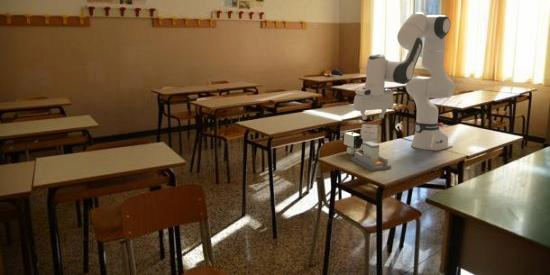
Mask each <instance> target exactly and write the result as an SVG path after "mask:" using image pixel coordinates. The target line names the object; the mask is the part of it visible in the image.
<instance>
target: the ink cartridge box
mask: <svg viewBox="0 0 550 275" xmlns="http://www.w3.org/2000/svg"><path fill="white" fill-rule="evenodd" d="M360 135H362V136H361V137H362V139H363V143H362V145H361V147H360V151H363V150H364V142H370V141H371V142H374V143H376V144H378V126H377V124H365V123H364V124H361V130H360Z"/></svg>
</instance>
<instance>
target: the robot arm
mask: <svg viewBox="0 0 550 275" xmlns="http://www.w3.org/2000/svg"><path fill="white" fill-rule="evenodd" d="M450 20H451V19H450V18H449V16H446V15H445V14H444V15H443V14H439V15H437V14H427V15H426V14H424V13H423V12H420V11H418V12H414V13H412V14H411V15H410V16H409V17H408V18H407V19H406V20H405V21H404V23H403V24H402V26H401V27H400V29H399V30H398V32H397V35H396V37H397V42H398V44H399V45H400V47H402V48H403V49H405V50H407V51H408V52H407V53H406V57H405V59H404V60H401V61H390V60H388V59H386V56H385V55H384V54H381V53H380V54H373V55H370V56H368V58H367V61H366V66H365V67H366V68H365V78H366V80H365V85H363V86H361V87H358V88H356V89H355V96H354V97H353V98H354V99H353V110H355V111H356V112H360V114H361V117H362V118H361V119H362V120H364V121H365V120H367V119H368V116H367V115H366V114H365V113H366V111H376V110H381V113H379V115H378V117H379V119H384V118H385V114H386V113H387V109H392V108H393V107H394V91H393V89H391V88H385V86H386V85H385V82H387V83H396V84H400V85H405V89H406V92H407V93H408V95H409V96H411V97H412V99H413V100H414V103H415V106H416V120H415V124H414V135H413V139H412V142H411V144H410V145H411V146H412V147H413V148H414V149H415V148H416V149H419V150H426V151H427V150H428V151H433V152H434V151H440V150H445V149H448V148H452V147H453V144H451V143H449V137H448V135H447V134H446V133H445V132H443V130H441V128H442V127H444V123H443V122H439V121H438V118H439V109H438V106H437V105H435V104H433V103H432V102H431V101H430V98H431V99H432V98H433V99H449V98H451V97H452V96H453V95H454V94H455V91H456V85H455V82H454V81H453V80H452V78H450V77H449V75H448V74H447V72H446V70H445V53H446V36H447V35H448V33H449V32H450V29H451V24H452V23H451V21H450ZM422 38H424V41H422ZM422 48H423V49H422ZM421 52H422V55H421ZM420 55H421V56H422V57H421V65H422V67H423V69H425V70H426V71H428V72H429V73H430V76H414V73H415V68H416V65H417V63H418V60H419V58H420Z"/></svg>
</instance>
